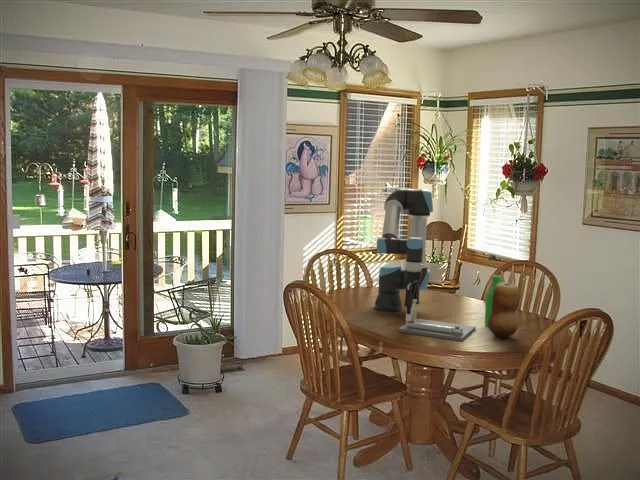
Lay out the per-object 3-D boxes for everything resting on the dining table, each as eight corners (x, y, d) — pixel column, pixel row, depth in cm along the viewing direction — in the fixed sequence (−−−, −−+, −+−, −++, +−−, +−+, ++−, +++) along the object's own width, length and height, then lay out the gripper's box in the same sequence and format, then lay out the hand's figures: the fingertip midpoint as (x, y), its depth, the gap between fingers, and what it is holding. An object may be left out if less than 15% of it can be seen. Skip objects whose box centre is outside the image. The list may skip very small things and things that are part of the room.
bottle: (492, 328, 330) (496, 277, 327) (480, 324, 337) (483, 274, 334) (506, 327, 334) (510, 276, 331) (494, 323, 341) (497, 273, 338)
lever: (463, 332, 312) (465, 304, 311) (460, 334, 308) (462, 306, 306) (408, 324, 324) (409, 298, 322) (404, 326, 319) (405, 299, 318)
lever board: (398, 331, 318) (398, 327, 317) (415, 321, 340) (415, 317, 339) (462, 341, 305) (462, 337, 304) (475, 329, 326) (475, 325, 326)
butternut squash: (515, 342, 305) (519, 287, 302) (485, 338, 310) (488, 284, 307) (518, 335, 318) (521, 282, 315) (488, 331, 323) (492, 279, 320)
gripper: (414, 274, 307) (412, 324, 310) (427, 268, 324) (425, 316, 327) (398, 272, 310) (396, 322, 313) (412, 267, 328) (410, 314, 330)
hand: (411, 319), depth 320 cm, fingers open, 6 cm apart
